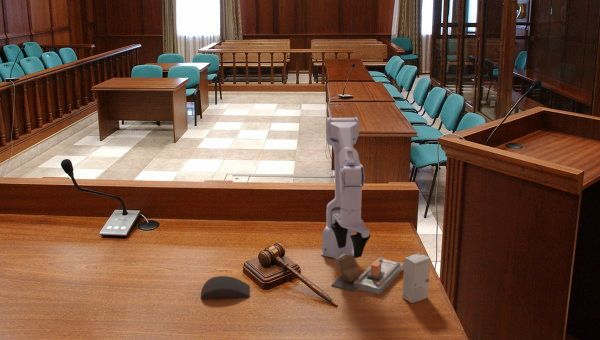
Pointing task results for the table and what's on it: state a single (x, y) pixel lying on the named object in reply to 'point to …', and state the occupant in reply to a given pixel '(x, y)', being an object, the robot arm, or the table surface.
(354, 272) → the brown rectangular block
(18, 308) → the table surface
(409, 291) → the skincare box
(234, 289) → the computer mouse
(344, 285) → the rubber pad
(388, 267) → the breaker panel
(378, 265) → the lever
